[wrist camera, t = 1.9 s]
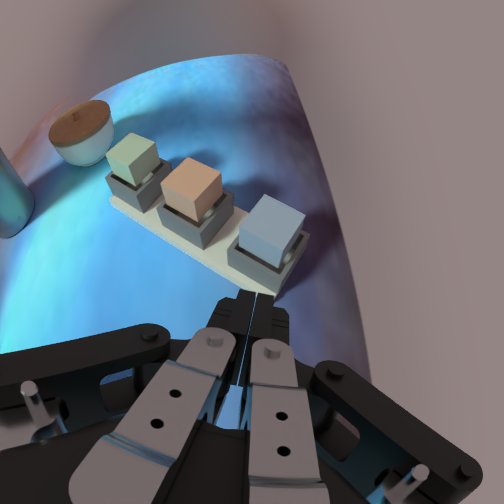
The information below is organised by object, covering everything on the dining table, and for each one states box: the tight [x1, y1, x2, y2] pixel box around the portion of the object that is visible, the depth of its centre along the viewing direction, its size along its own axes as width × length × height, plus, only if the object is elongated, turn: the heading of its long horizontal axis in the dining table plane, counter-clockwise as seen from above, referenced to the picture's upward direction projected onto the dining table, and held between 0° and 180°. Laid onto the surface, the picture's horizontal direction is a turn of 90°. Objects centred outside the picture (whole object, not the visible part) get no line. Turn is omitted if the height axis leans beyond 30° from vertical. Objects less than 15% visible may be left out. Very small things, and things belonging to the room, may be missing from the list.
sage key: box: [105, 132, 160, 186], centre depth 32 cm, size 4×4×4 cm
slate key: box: [239, 194, 306, 268], centre depth 28 cm, size 4×4×4 cm
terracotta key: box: [160, 157, 222, 222], centre depth 30 cm, size 4×4×4 cm
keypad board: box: [105, 158, 311, 299], centre depth 34 cm, size 25×8×5 cm, turn 58°
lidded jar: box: [49, 100, 114, 167], centre depth 38 cm, size 11×11×9 cm
